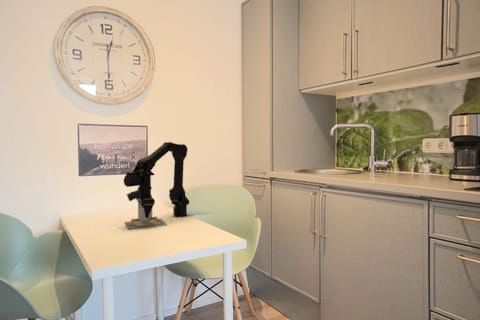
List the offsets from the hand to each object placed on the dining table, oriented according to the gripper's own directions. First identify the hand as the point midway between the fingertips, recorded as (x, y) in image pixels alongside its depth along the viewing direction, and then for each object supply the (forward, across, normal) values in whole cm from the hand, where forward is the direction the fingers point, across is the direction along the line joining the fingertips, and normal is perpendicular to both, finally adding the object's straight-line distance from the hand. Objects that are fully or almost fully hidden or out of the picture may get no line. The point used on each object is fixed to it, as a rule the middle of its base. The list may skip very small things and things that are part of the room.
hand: (145, 216), depth 163 cm
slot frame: (+4, 0, 0) cm, 4 cm away
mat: (+4, 0, 0) cm, 4 cm away
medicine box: (+2, 0, 0) cm, 2 cm away
